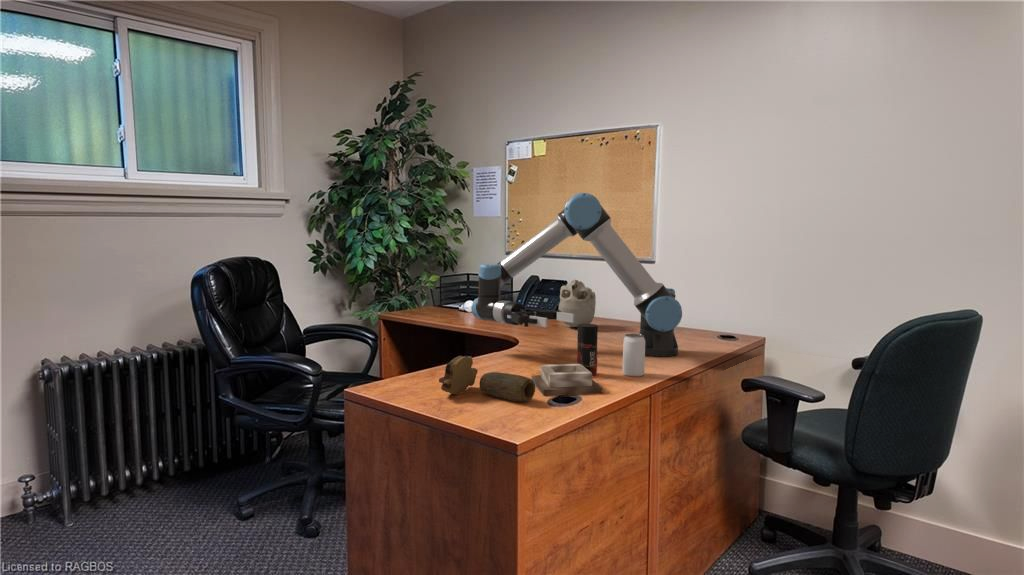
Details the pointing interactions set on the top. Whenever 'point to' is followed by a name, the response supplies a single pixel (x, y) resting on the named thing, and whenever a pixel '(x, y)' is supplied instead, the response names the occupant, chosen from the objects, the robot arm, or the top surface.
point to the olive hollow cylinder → (508, 386)
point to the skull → (577, 302)
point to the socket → (565, 380)
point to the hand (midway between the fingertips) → (560, 320)
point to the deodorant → (587, 347)
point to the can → (634, 355)
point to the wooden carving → (458, 375)
